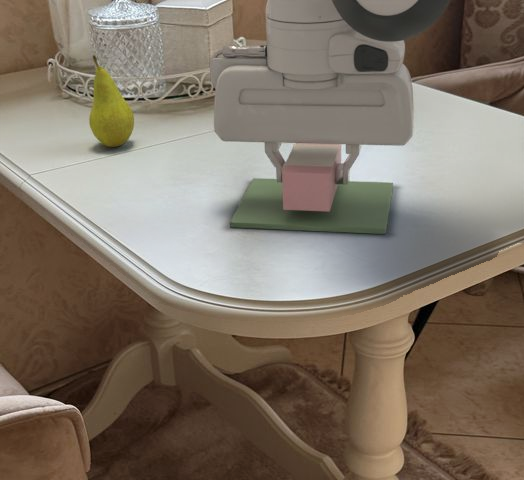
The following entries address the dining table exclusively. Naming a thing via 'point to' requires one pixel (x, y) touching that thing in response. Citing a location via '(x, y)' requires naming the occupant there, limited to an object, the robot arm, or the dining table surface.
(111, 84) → the fruit
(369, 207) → the placemat
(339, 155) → the block
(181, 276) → the dining table surface
